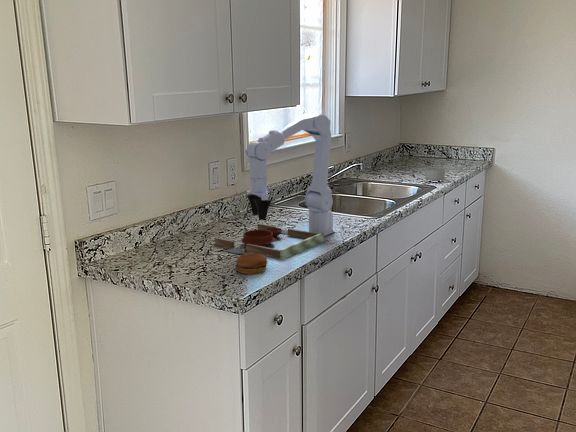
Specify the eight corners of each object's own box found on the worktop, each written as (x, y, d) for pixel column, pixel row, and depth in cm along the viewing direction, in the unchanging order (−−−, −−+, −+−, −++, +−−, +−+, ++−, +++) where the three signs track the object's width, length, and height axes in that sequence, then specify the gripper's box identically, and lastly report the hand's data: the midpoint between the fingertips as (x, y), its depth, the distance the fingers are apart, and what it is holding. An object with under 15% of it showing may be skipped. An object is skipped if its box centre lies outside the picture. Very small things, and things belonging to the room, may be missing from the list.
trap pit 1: (232, 248, 194) (232, 247, 193) (246, 251, 190) (246, 250, 190) (224, 251, 190) (224, 250, 190) (238, 254, 187) (238, 253, 187)
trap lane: (259, 229, 218) (259, 222, 217) (323, 241, 202) (324, 232, 201) (214, 245, 198) (214, 236, 197) (282, 259, 182) (282, 250, 181)
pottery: (234, 247, 195) (234, 235, 194) (264, 234, 213) (263, 222, 212) (264, 252, 190) (264, 239, 189) (291, 237, 207) (291, 226, 206)
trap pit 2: (282, 230, 217) (282, 229, 217) (295, 232, 213) (295, 231, 213) (276, 232, 213) (276, 231, 213) (289, 235, 210) (289, 234, 210)
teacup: (440, 184, 309) (441, 169, 307) (421, 182, 315) (422, 168, 313) (448, 180, 321) (449, 166, 319) (429, 179, 326) (430, 165, 324)
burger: (250, 277, 166) (250, 262, 164) (229, 270, 172) (228, 255, 171) (274, 269, 173) (274, 254, 171) (253, 263, 179) (252, 248, 178)
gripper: (241, 175, 196) (242, 213, 200) (252, 181, 183) (253, 222, 186) (260, 173, 199) (261, 211, 202) (273, 180, 185) (274, 221, 188)
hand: (259, 217), depth 194 cm, fingers open, 7 cm apart
